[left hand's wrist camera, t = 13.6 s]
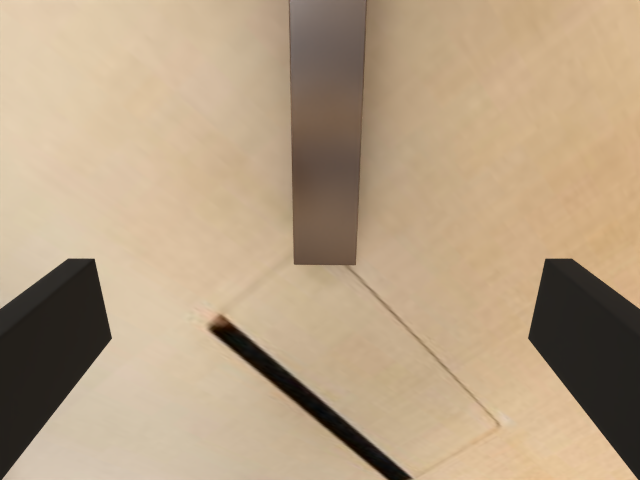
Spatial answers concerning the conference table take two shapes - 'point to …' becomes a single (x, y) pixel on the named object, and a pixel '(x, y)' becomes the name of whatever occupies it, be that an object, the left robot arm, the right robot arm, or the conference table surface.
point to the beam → (326, 127)
